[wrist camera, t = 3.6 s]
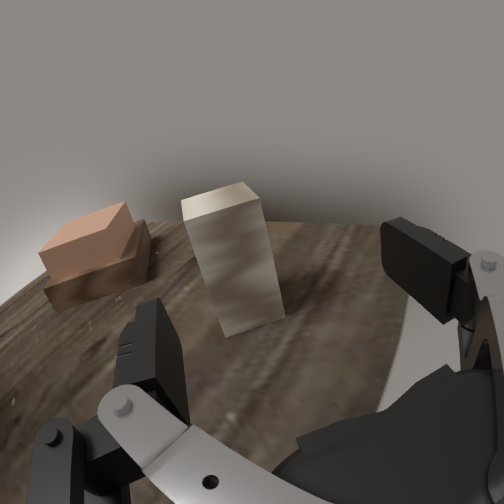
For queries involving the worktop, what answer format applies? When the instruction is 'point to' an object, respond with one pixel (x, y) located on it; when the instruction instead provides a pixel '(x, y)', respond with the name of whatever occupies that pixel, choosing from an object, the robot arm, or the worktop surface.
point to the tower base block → (105, 274)
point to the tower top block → (88, 242)
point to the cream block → (234, 257)
